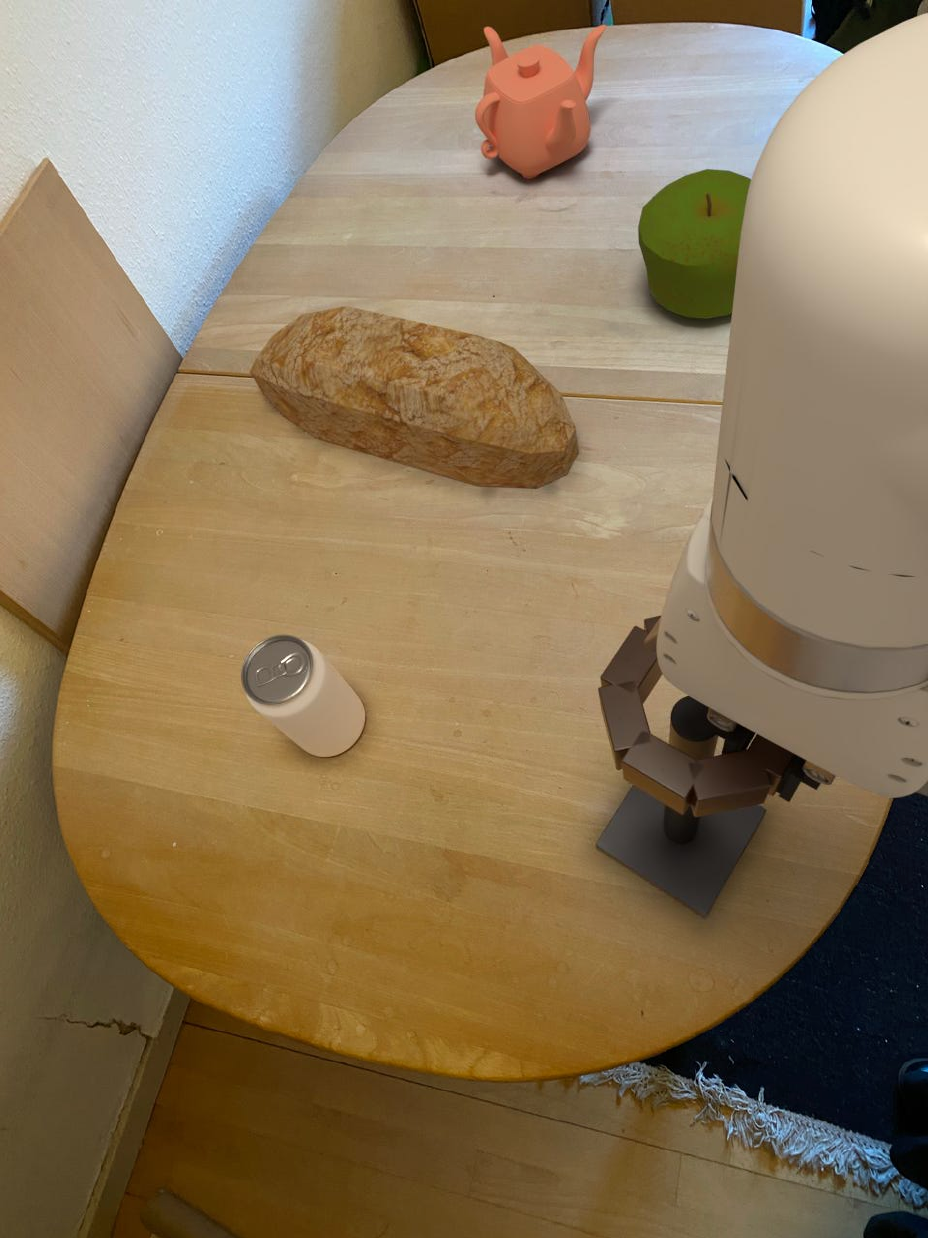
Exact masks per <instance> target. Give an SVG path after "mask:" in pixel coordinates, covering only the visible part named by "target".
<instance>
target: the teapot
mask: <svg viewBox="0 0 928 1238" xmlns="http://www.w3.org/2000/svg"><path fill="white" fill-rule="evenodd" d="M606 29H607V25H606V24H601V25H599V26H597V27H596V28H594V29H593V30H591V32H589V34H587V36H586V38H585V39H584V42H583V45H582V47H581V50H580V55H579V59H578V63H577V66H576V67H575V70H573V68H572V66H571V65H570V64H569V63H568V62H567V61H566V60H565V58H563V57H562V56H561V55H560V54H558V53H557V52H556V51H554V50H552V49H551V48H549V47H547V46H545V45H542V44H533V45H531V46H529V47H525V48H523V49H521V50H520V51H517V52H515V53H514V54H512V55H510V56H509V55H508V53H507V50H506V49H505V46H504V44H503V42H502V40H501V38H500V35H499V34H498V33H497V31H496V30H495V29H494V28H492V27H490V26H485V27H484V28H483V32H484V33H483V34H484V36H485V38H486V40H487V43H488V45H489V48H490V53H491V63H492V66H491V67H489V68H488V70H486V75H485V79H484V86H483V94H482V95H483V96H482V98H480V100H479V102H478V103H477V105H476V107H475V110H474V118H475V123H476V124H477V126H478V128H479V130H480V132H481V133H482V134H483V135H484V136H485V138H486V139H485V140H484V141H483V142H482V143H481V145H480V152H481V154H482V156H483V158H485V159H488V160H492V159H495V158H497V157H499V158H500V159H501V161H502V162H504V163H505V164H506V165H507V166H508V167H510V168H511V169H512V170H514V171H516V172H517V173H519V174H521V176H522V177H523V179H529V180H530V179H534V178H536V177H538V176H539V175H540V174H541V173H544V172H546V171H548V170H550V169H552V168H555V167H557V166H558V165H560V164H562V163H564V162H566V161H568V160H569V159H572V158H574V157H576V156H577V155H578V154H579V153H581V152H582V151H583V150H584V149H585V148H586V147H587V144H588V142H589V139H590V136H591V131H592V130H591V129H592V128H591V118H590V114H589V109H588V104H587V100H588V98H589V96H590V94H591V91H592V88H593V84H594V73H595V52H596V47H597V45H598V42H599V40H600V38H601V37H602V35H603V34H604V32H605V31H606ZM489 147H490V148H489ZM488 148H489V149H488Z"/></svg>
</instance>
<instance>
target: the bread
mask: <svg viewBox="0 0 928 1238" xmlns="http://www.w3.org/2000/svg"><path fill="white" fill-rule="evenodd" d="M249 373H250V374H251V376H252V378H253V380H254V381H255V383H256V385H257V386H258V388H259V389H260V391H261V394H262V395H263V396H265V398H266V399H267V400H268V402H270V403H271V404H272V406H273V407H274V408H276V410H277V411H278V412H279V413H280V414H281V415H282V416H283V417H284V418H285V419H287V420H288V421H290V422H291V423H293V424H294V425H295V426H297V427H299V428H300V429H302V430H303V431H305V432H306V433H308V434H309V435H310V436H311V437H312V438H315V439H317V440H320V441H324V442H326V443H327V442H328V443H331V444H334V445H338V446H341V447H344V448H347V449H350V450H354V451H357V452H362V453H364V454H368V455H372V456H375V457H378V458H382V459H385V460H389V461H392V462H395V463H398V464H402V465H404V466H407V467H412V468H414V469H415V468H416V469H419V470H422V471H425V472H429V473H433V474H435V475H440V476H442V477H446V478H448V479H452V480H455V481H459V482H462V483H466V484H469V485H473V486H475V487H494V488H517V489H519V488H520V489H538V488H541V487H543V486H545V485H547V484H549V483H552V482H554V481H556V480H558V479H560V478H563V477H565V476H567V475H568V474H569V472H570V470H571V468H572V466H573V464H574V462H575V460H576V458H577V456H578V454H579V445H578V437H577V428H576V426H575V423H574V420H573V418H572V415H571V413H570V411H569V409H568V406H567V404H566V402H565V399H564V397H563V394H562V393H561V392H560V391H559V390H558V389H557V388H556V387H555V386H554V385H553V384H552V383H551V382H550V381H549V380H548V379H547V378H546V377H545V375H543V374H542V373H541V372H540V371H539V370H538V369H537V368H536V367H535V366H534V365H533V364H532V363H531V362H529V361H528V360H527V359H526V358H525V356H523V354H521V353H520V352H519V351H518V350H517V349H516V348H515V347H513V346H511V345H508V344H506V343H503V342H502V341H498V340H495V339H491V338H488V337H484V336H481V335H478V334H473V333H469V332H464V331H460V330H455V329H452V328H451V329H450V328H447V327H446V328H445V327H442V326H438V325H433V324H429V323H425V322H424V323H423V322H419V321H415V320H412V319H411V320H410V319H406V318H401V317H397V316H393V315H388V314H384V313H380V312H376V311H375V312H374V311H370V310H366V309H361V308H357V307H353V306H339V307H338V306H337V307H334V308H329V309H324V310H318V311H312V312H308V313H303V314H301V315H299V316H298V317H296V318H295V319H293V320H292V321H291V322H289V323H288V324H287V325H285V326H284V327H282V328H280V329H279V330H278V331H276V332H275V333H274V334H273V335H271V337H270V338H269V339H268V341H267V342H266V343H265V345H264V347H263V348H262V349H261V351H260V352H259V353H258V355H257V356H256V358H255V359H254V362H253V364H252V366H251V368H250V370H249Z"/></svg>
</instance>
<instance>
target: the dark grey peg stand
mask: <svg viewBox="0 0 928 1238" xmlns="http://www.w3.org/2000/svg"><path fill="white" fill-rule="evenodd" d="M708 711H709V707H708V706H706V705H704V704H702V703H701V702H699V701H697V700H695V699H694V698H692V697H690V696H689V695H686V696H684V697H681V698H680V699H679V700H677V701H676V702H675V703H674V705H673V706H672V708H671V712H670V717H669V719H670V720H669V735H668V744H670V745H672V746H673V747H675V748H677V749H679V750H680V751H682V752H684V753H686V754H687V755H689V756H691V757H693V758H694V759H696V760H698V759H703V758H708V757H713V756H715V754H716V750H717V745H718V741H719V738H720V737H719V736H717V735H715V733H716V728H717V726H715V725H714V724H712V723H711V722H710V721H709V719H708V717H707V715H708ZM767 811H768V810H767V809H766V808H765V807H763V806H762V805H760V804H758V805H753V806H748V807H744V808H739V809H734V810H729V811H724V812H719V813H714V814H709V815H704V816H699V817H695V816H694V814H693V811H692V807H691V804H690V806H689V807H688V809H687V810H686V812H685V814H684V815H682V814H680V813H679V812H677V811H675V810H674V809H672V808H670V807H669V806H667V805H665V804H664V803H662V802H660V801H659V800H657V799H656V798H654V797H652V796H651V795H649V794H647V793H646V792H644V791H642V790H641V789H639V788H637V787H636V786H634V785H633V784H632V785H631V787H630V789H629V791H628V792H627V794H626V795H625V797H624V799H623V800H622V802H621V803H620V805H619V806H618V808H617V810H616V811H615V812H614V814H613V815H612V818H611V819H610V821H609V822H608V824H607V825H606V827H605V829H604V830H603V831H602V833H601V835H600V836H599V838H598V839H597V841H596V843H595V848H596V849H597V851H600V852H601V853H602V854H604V855H606V856H607V857H609V858H610V859H612V860H614V862H616V863H618V864H620V865H621V866H623V867H624V868H625V869H627V870H628V871H630V872H632V873H633V874H635V875H636V876H638V877H639V878H641V879H642V880H644V881H646V882H647V883H649V884H650V885H652V886H653V887H654V888H656V889H658V890H659V891H660V892H662V893H663V894H665V895H667V896H668V897H670V898H671V899H673V900H674V901H676V902H677V903H679V904H680V905H682V906H684V907H685V908H686V909H688V910H690V912H693V913H694V914H696V915H698V916H699V917H700V918H701V919H704V920H705V919H706V917H707V916H708V914H709V912H710V911H711V910H712V907H713V906H714V903H715V902H716V900H717V898H718V897H719V896H720V893H721V892H722V890H723V888H724V886H725V884H726V883H727V881H728V879H729V877H730V876H731V874H732V873H733V870H734V869H735V867H736V865H737V864H738V862H739V860H740V858H741V857H742V855H743V853H744V851H745V850H746V848H747V846H748V844H749V842H750V841H751V839H752V838H753V835H754V834H755V832H756V830H757V829H758V828H759V825H760V823H761V821H762V820H763V817H764V816H765V815H766V814H767Z"/></svg>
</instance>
